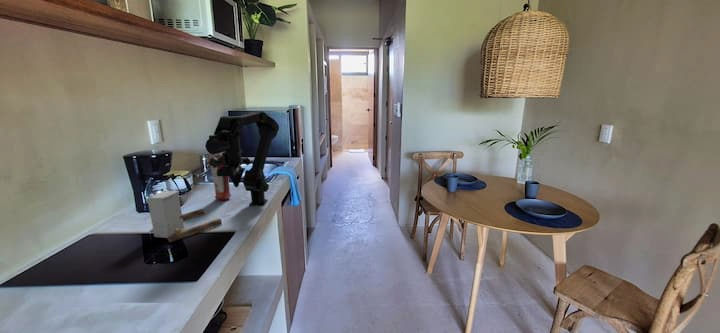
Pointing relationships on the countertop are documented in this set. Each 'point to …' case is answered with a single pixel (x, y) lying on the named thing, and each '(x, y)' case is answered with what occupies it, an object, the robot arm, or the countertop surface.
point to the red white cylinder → (220, 183)
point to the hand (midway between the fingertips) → (236, 186)
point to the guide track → (193, 230)
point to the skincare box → (165, 213)
